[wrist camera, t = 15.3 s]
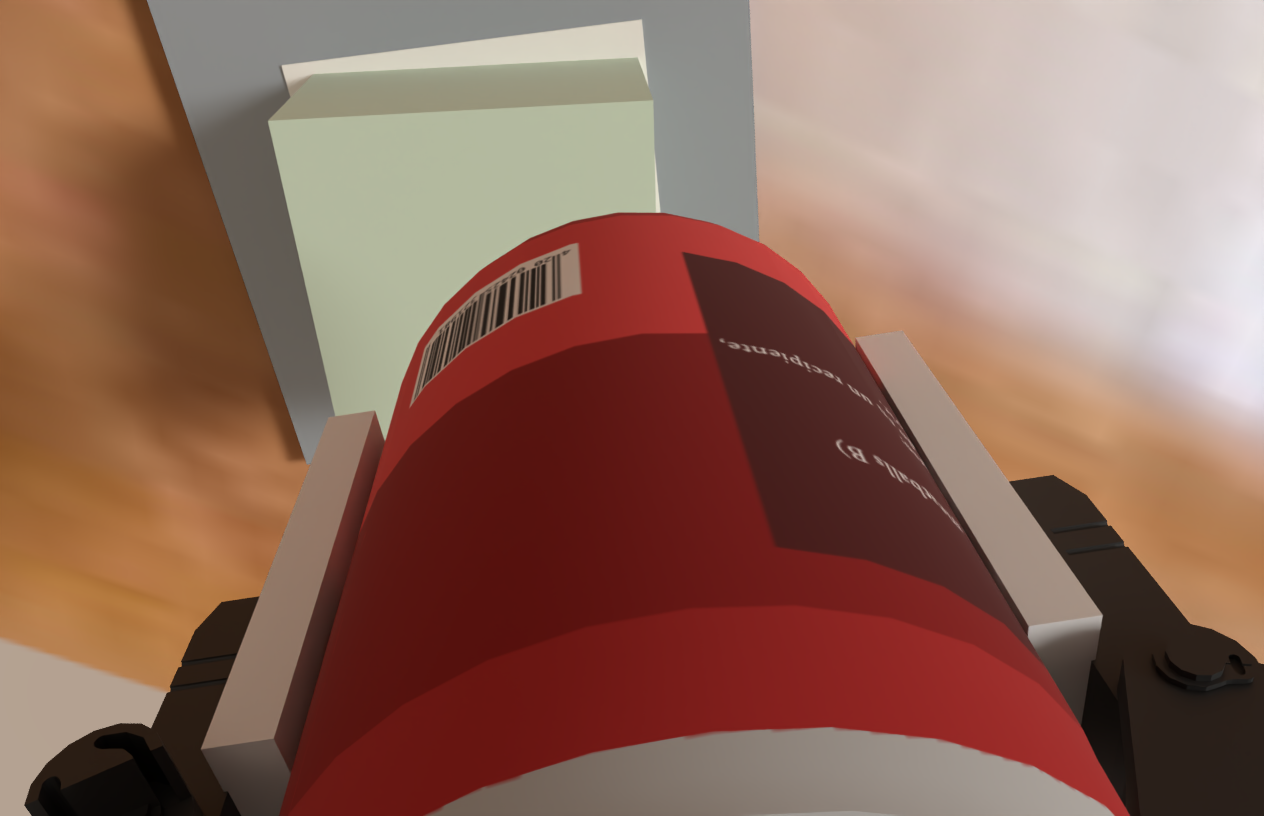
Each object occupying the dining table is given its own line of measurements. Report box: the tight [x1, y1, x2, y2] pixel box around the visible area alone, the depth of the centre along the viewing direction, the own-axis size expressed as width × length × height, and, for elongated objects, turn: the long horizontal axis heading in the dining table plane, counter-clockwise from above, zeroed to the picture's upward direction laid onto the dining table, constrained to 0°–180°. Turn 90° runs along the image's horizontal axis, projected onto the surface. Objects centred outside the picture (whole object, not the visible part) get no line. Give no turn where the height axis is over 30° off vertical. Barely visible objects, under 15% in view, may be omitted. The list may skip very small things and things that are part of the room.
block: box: [268, 57, 656, 440], centre depth 27 cm, size 9×9×5 cm
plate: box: [147, 0, 759, 464], centre depth 29 cm, size 16×16×1 cm
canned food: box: [279, 212, 1130, 816], centre depth 12 cm, size 8×8×11 cm
